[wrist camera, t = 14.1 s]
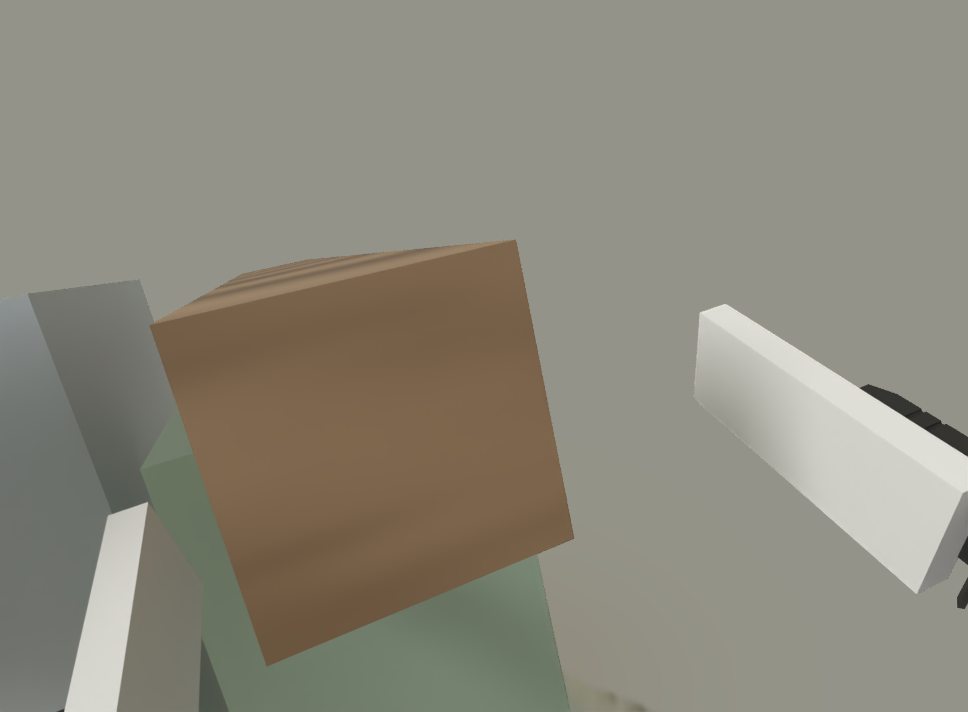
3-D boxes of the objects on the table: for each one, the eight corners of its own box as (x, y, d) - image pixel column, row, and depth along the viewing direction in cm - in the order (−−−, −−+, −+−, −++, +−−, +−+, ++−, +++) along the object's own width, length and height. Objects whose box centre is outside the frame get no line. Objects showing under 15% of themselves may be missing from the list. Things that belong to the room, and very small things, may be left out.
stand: (283, 956, 26) (27, 293, 20) (23, 1103, 23) (-385, 379, 17) (273, 670, 45) (139, 279, 38) (127, 731, 42) (-46, 318, 35)
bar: (574, 538, 8) (516, 239, 7) (267, 666, 7) (149, 325, 6) (322, 319, 39) (306, 259, 39) (260, 335, 38) (242, 273, 37)
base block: (622, 956, 24) (496, 362, 18) (380, 1122, 21) (140, 469, 15) (494, 712, 37) (397, 321, 31) (333, 792, 34) (194, 375, 28)
